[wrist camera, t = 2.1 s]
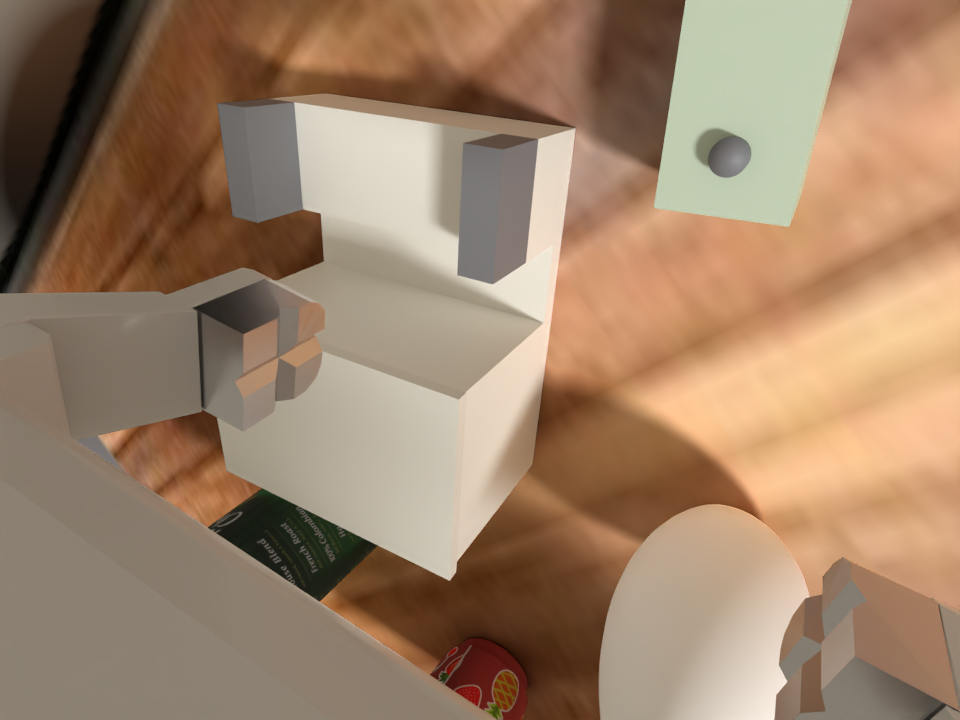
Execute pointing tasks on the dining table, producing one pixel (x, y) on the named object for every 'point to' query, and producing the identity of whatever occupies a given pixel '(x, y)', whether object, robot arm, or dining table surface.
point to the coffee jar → (293, 542)
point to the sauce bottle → (700, 621)
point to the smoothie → (485, 678)
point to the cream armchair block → (406, 310)
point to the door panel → (747, 105)
